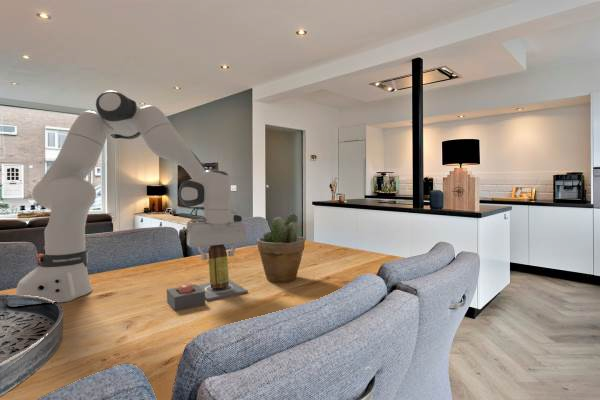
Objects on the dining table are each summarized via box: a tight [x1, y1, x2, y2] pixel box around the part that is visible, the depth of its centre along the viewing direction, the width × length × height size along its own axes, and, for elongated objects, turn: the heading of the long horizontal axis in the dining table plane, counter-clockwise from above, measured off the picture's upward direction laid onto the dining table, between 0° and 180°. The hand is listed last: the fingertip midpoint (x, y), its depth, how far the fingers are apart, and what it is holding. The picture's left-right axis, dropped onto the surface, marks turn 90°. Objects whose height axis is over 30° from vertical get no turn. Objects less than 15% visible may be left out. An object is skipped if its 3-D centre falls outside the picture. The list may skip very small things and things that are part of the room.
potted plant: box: [256, 212, 306, 284], centre depth 130 cm, size 18×19×25 cm
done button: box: [178, 283, 194, 294], centre depth 104 cm, size 4×4×3 cm
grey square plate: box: [196, 279, 249, 302], centre depth 117 cm, size 14×16×1 cm
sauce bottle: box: [207, 244, 230, 289], centre depth 117 cm, size 7×6×20 cm
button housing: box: [166, 284, 206, 311], centre depth 104 cm, size 9×9×4 cm
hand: (218, 257), depth 116 cm, fingers open, 8 cm apart
